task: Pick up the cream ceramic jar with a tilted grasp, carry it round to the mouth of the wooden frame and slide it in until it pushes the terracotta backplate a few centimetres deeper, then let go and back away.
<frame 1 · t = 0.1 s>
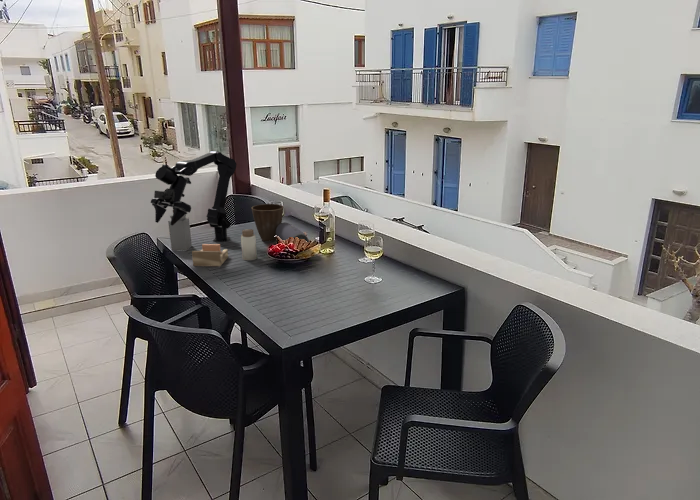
hand: (163, 223, 195), 15 cm above the table, tool tilted 35°, fingers open, 9 cm apart
jar: (249, 258, 199), on the table
wooden frame: (211, 260, 196), on the table
bluetooth speaker: (292, 248, 213), on the table
plant pot: (269, 239, 226), on the table
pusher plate: (211, 252, 195), point 4 cm above the table, slide at 0.0 cm
perfume bottle: (182, 248, 212), on the table
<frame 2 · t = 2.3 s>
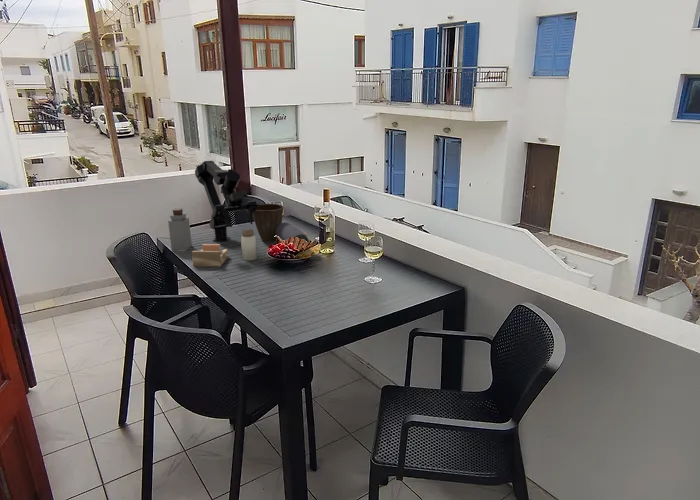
hand: (241, 225, 200), 13 cm above the table, tool tilted 45°, fingers open, 9 cm apart
nothing on the table moved.
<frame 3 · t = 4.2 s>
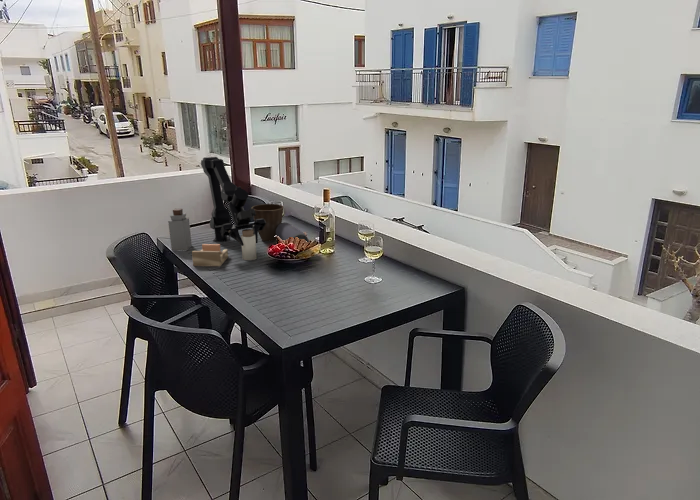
hand: (249, 244, 196), 7 cm above the table, tool tilted 45°, fingers closed on jar, 6 cm apart
jar: (249, 258, 199), on the table, touching gripper
everything else where it was.
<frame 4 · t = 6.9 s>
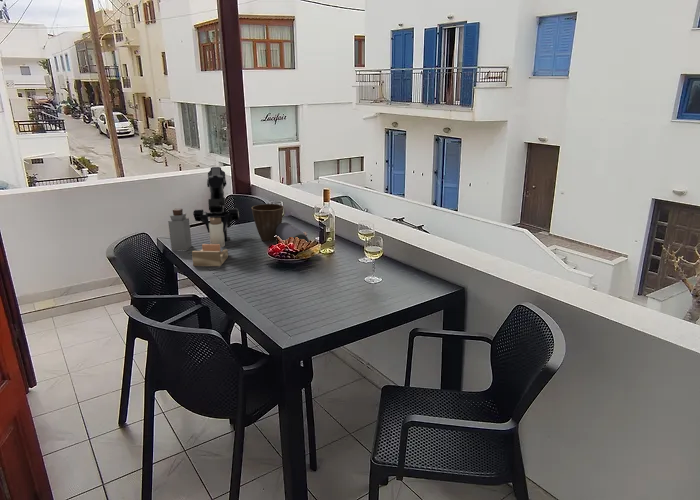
hand: (216, 231, 200), 10 cm above the table, tool tilted 45°, fingers closed on jar, 6 cm apart
jar: (217, 245, 204), point 4 cm above the table, touching gripper
everything else where it was.
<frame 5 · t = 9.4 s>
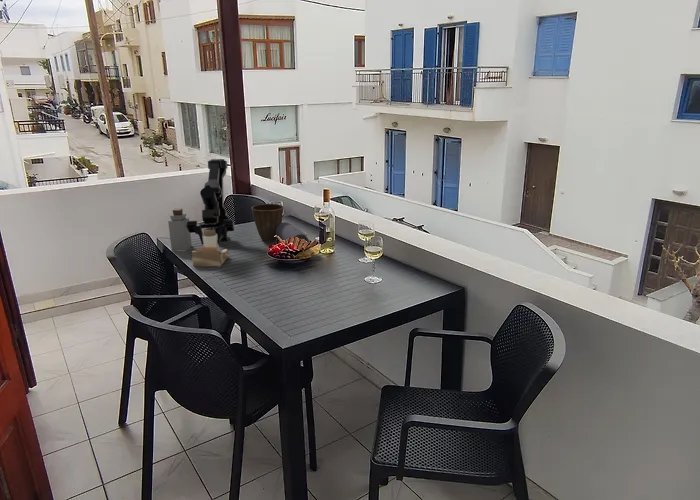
hand: (210, 243, 193), 8 cm above the table, tool tilted 45°, fingers closed on jar, 6 cm apart
jar: (212, 257, 196), point 1 cm above the table, touching gripper
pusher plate: (208, 255, 192), point 4 cm above the table, slide at 3.9 cm
everything else where it was.
when the fingers open (8 cm above the table, at t = 9.9 s): jar stays where it is, on the table.
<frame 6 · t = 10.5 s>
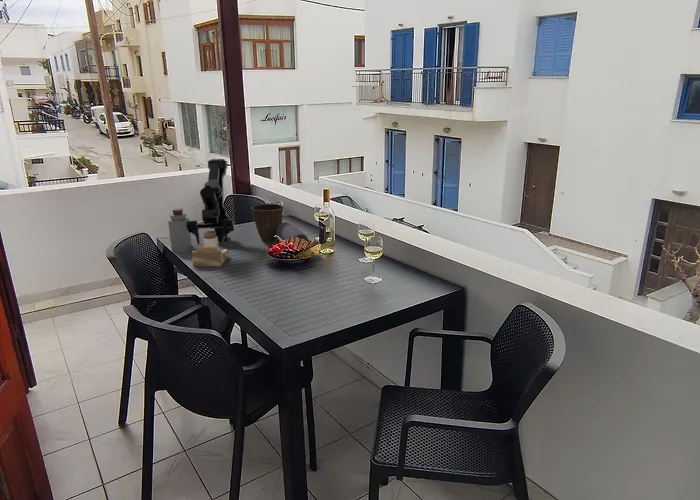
hand: (210, 243, 192), 8 cm above the table, tool tilted 45°, fingers open, 9 cm apart
jar: (212, 260, 196), on the table
everything else where it was.
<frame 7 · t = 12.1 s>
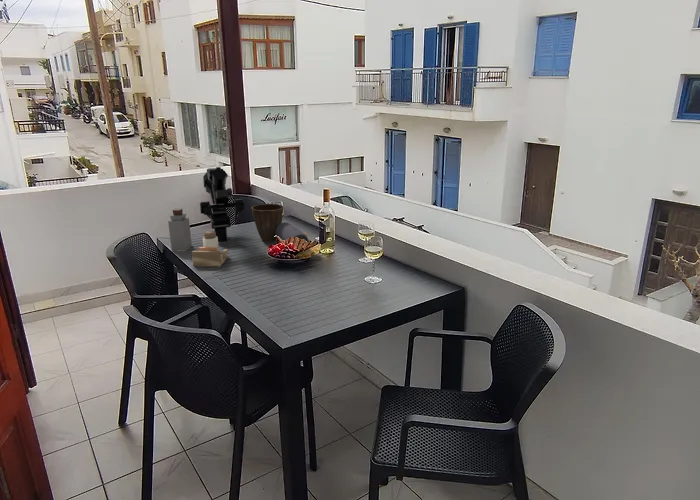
hand: (225, 222, 202), 14 cm above the table, tool tilted 45°, fingers open, 9 cm apart
nothing on the table moved.
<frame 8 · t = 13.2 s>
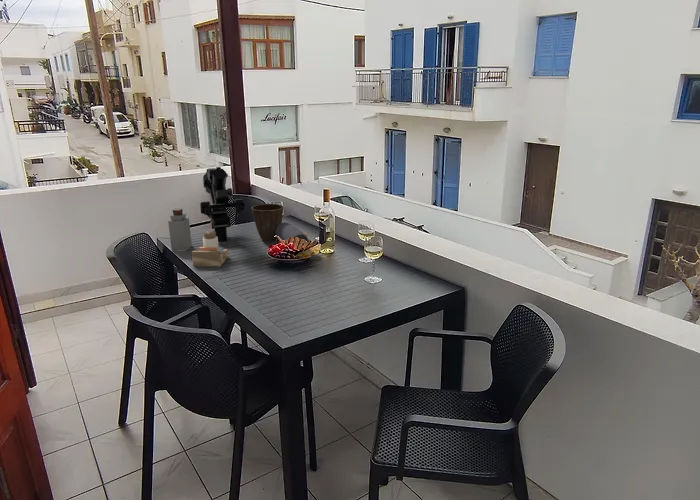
hand: (225, 222, 202), 14 cm above the table, tool tilted 45°, fingers open, 9 cm apart
nothing on the table moved.
at the end: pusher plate slide at 4.0 cm; jar 1.1 cm from the target spot, on the table; jar tilted 0° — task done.
